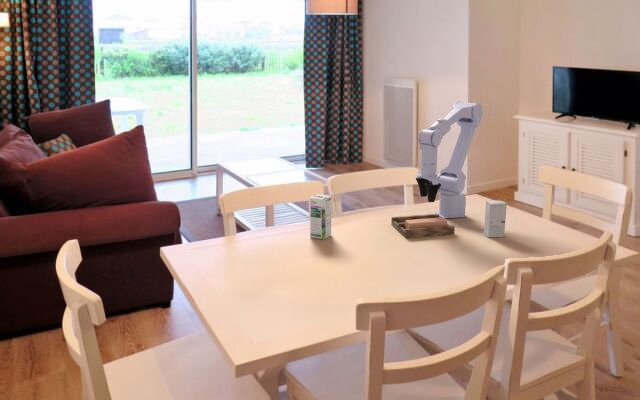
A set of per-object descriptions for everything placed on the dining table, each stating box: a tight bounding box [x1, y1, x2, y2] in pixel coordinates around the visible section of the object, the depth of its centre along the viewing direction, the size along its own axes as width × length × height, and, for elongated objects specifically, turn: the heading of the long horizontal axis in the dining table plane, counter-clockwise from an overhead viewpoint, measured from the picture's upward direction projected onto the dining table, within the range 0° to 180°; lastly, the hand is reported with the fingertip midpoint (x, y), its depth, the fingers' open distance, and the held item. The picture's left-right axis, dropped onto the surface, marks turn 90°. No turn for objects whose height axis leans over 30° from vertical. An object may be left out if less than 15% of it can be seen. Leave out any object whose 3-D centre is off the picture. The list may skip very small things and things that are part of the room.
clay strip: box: [405, 217, 448, 229], centre depth 231 cm, size 14×4×4 cm, turn 102°
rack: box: [391, 213, 455, 239], centre depth 235 cm, size 18×16×3 cm
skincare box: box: [483, 200, 508, 238], centre depth 227 cm, size 6×4×12 cm
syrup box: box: [309, 193, 332, 241], centre depth 227 cm, size 6×6×14 cm
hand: (427, 199), depth 239 cm, fingers open, 7 cm apart
